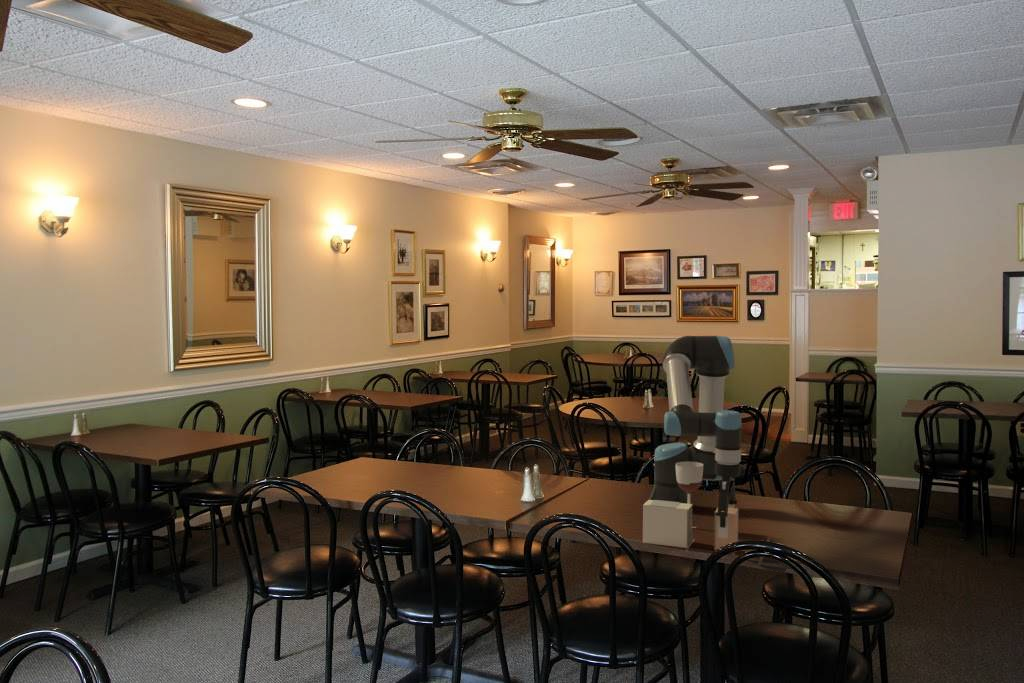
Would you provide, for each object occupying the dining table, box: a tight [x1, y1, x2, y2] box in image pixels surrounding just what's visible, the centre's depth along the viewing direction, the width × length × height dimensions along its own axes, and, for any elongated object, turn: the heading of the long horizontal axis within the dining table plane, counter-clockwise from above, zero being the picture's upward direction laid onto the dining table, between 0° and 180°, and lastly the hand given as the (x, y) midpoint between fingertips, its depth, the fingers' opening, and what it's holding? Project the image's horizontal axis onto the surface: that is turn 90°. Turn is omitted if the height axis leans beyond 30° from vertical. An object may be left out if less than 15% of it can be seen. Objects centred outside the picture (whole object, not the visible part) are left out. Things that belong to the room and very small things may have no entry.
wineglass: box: [676, 462, 703, 529], centre depth 267 cm, size 9×10×22 cm
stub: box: [713, 507, 739, 555], centre depth 244 cm, size 7×6×12 cm
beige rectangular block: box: [642, 499, 694, 549], centre depth 251 cm, size 7×14×12 cm, turn 67°
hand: (726, 531), depth 244 cm, fingers open, 13 cm apart
